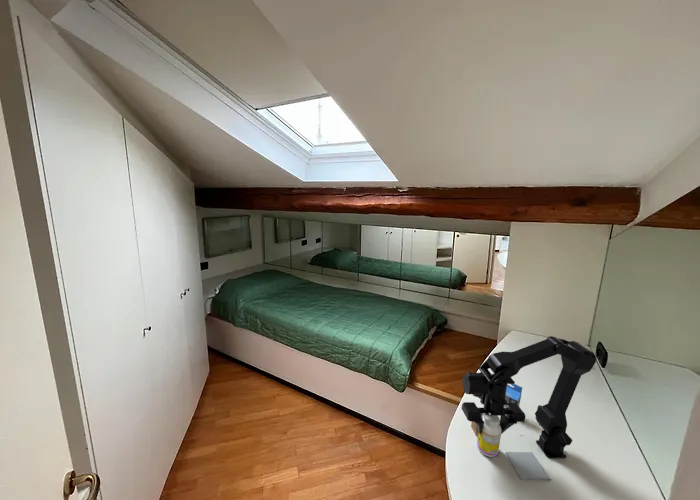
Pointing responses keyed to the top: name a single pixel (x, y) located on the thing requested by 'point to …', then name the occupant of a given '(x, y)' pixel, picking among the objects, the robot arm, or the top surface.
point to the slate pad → (527, 466)
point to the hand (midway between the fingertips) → (489, 433)
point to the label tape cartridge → (513, 394)
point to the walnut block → (474, 427)
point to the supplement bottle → (490, 436)
